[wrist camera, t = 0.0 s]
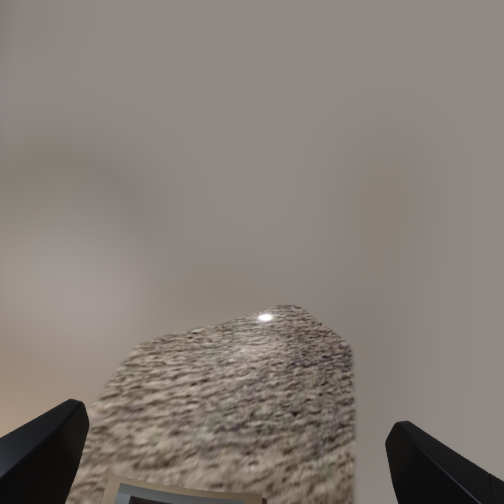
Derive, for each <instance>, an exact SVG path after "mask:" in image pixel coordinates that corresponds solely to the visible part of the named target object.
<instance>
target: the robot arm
mask: <svg viewBox="0 0 504 504" xmlns="http://www.w3.org/2000/svg"><path fill="white" fill-rule="evenodd" d="M88 430H89V419H88V415H87V412H86V408H85V405H84V403H83V402H82V401H78V400H75V399H69V400H67V401H65V402H63V403H61V404H60V405H58V406H56V407H54V408H53V409H51V410H49V411H48V412H46V413H44V414H42V415H40V416H39V417H37V418H35V419H33V420H32V421H30V422H28V423H26V424H24V425H23V426H21V427H19V428H17V429H16V430H14V431H12V432H10V433H9V434H6V435H5V436H3V437H1V438H0V504H65V502H66V499H67V497H68V494H69V491H70V489H71V486H72V484H73V481H74V478H75V476H76V473H77V470H78V467H79V464H80V460H81V456H82V452H83V448H84V444H85V441H86V437H87V433H88ZM385 447H386V452H387V457H388V462H389V468H390V473H391V479H392V483H393V487H394V491H395V494H396V497H397V501H398V504H504V481H502V480H500V479H499V478H497V477H495V476H494V475H492V474H490V473H488V472H487V471H485V470H484V469H482V468H480V467H479V466H477V465H476V464H474V463H472V462H471V461H469V460H467V459H466V458H464V457H463V456H461V455H460V454H458V453H456V452H455V451H453V450H452V449H450V448H449V447H447V446H446V445H444V444H443V443H441V442H440V441H438V440H437V439H435V438H434V437H432V436H430V435H429V434H427V433H426V432H424V431H423V430H422V429H420V428H418V427H417V426H415V425H414V424H413V423H411V422H409V421H400V422H397V423H395V424H394V426H393V428H392V430H391V432H390V433H389V435H388V437H387V439H386V442H385Z"/></svg>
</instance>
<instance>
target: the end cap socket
mask: <svg viewBox="0 0 504 504" xmlns="http://www.w3.org/2000/svg"><path fill="white" fill-rule="evenodd" d="M100 504H262V494H245V493H226V492H213V491H203V490H194V489H186V488H179V487H172V486H166V485H160V484H154V483H149V482H144V481H139V480H135V479H130V478H126V477H122V476H118V475H114V474H110V477H109V480H108V483H107V485H106V488H105V491H104V494H103V497H102V500H101V503H100Z"/></svg>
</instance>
